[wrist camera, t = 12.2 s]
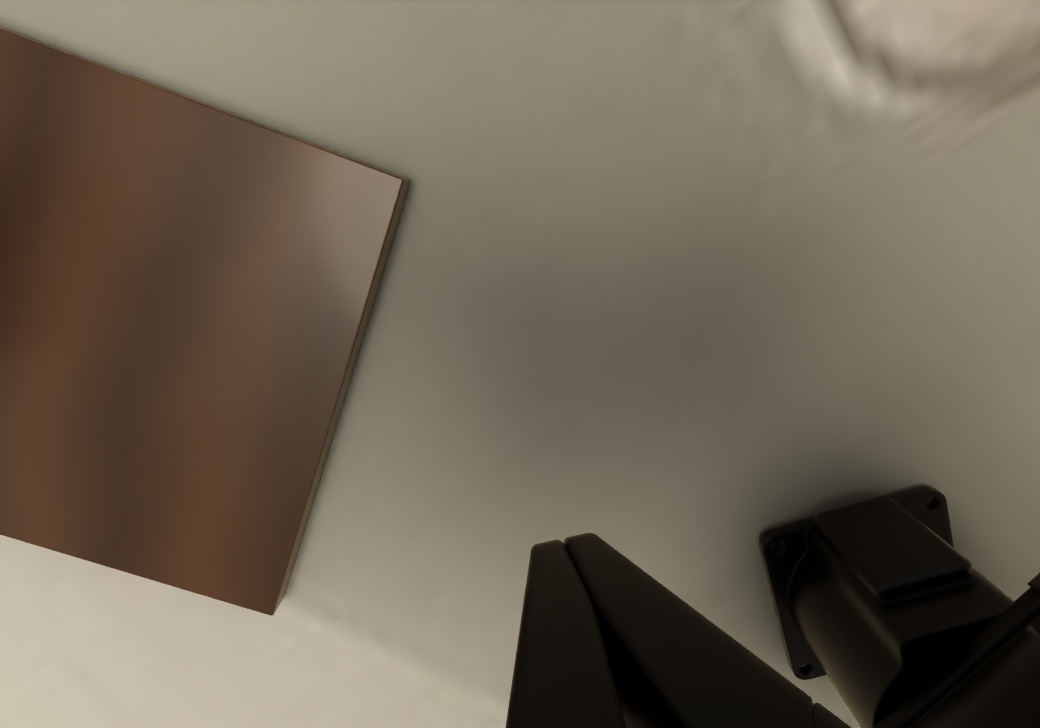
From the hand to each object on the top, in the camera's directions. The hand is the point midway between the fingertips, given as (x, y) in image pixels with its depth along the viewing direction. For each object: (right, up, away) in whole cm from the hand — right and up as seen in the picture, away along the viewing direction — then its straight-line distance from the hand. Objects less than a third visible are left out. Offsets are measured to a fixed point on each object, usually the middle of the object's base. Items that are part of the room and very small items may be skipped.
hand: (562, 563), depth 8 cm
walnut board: (-17, +5, +12) cm, 21 cm away
